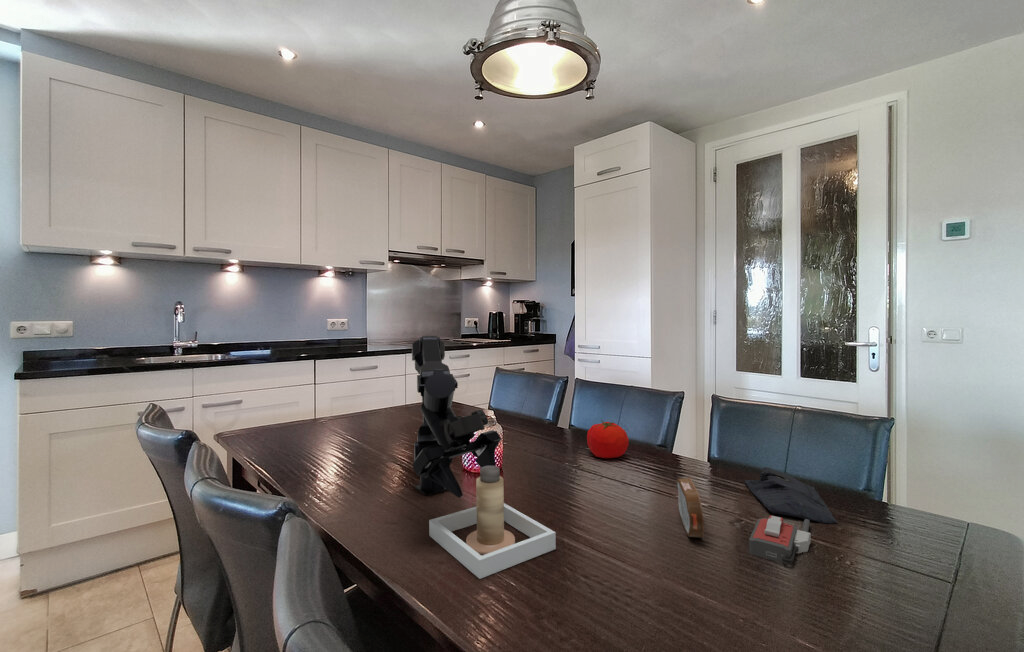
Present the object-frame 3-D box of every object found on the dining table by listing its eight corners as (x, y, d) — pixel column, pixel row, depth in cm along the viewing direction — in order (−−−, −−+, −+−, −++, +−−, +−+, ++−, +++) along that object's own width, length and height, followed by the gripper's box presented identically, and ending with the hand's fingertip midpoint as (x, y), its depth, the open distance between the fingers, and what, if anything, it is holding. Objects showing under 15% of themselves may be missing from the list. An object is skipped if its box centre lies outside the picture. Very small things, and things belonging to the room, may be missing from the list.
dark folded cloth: (756, 518, 97) (757, 495, 96) (742, 482, 117) (743, 463, 117) (843, 529, 91) (844, 505, 91) (813, 489, 112) (813, 470, 112)
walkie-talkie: (805, 575, 75) (813, 529, 91) (805, 548, 75) (813, 506, 91) (745, 558, 80) (763, 517, 97) (745, 533, 80) (763, 496, 96)
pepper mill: (471, 537, 86) (471, 467, 86) (494, 529, 89) (493, 462, 89) (486, 548, 82) (485, 475, 82) (509, 539, 85) (508, 469, 85)
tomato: (594, 448, 145) (594, 415, 145) (634, 455, 138) (634, 421, 138) (578, 457, 136) (578, 422, 136) (619, 465, 129) (619, 428, 129)
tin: (705, 546, 84) (705, 500, 84) (687, 544, 85) (687, 499, 84) (690, 511, 99) (690, 472, 99) (675, 510, 99) (675, 471, 99)
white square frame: (429, 535, 88) (429, 520, 88) (498, 514, 98) (498, 500, 98) (479, 578, 74) (479, 560, 74) (555, 548, 83) (555, 532, 83)
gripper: (421, 404, 84) (461, 480, 77) (495, 391, 98) (534, 455, 90) (397, 439, 90) (432, 513, 83) (470, 422, 103) (505, 484, 96)
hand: (479, 489), depth 88 cm, fingers open, 9 cm apart
